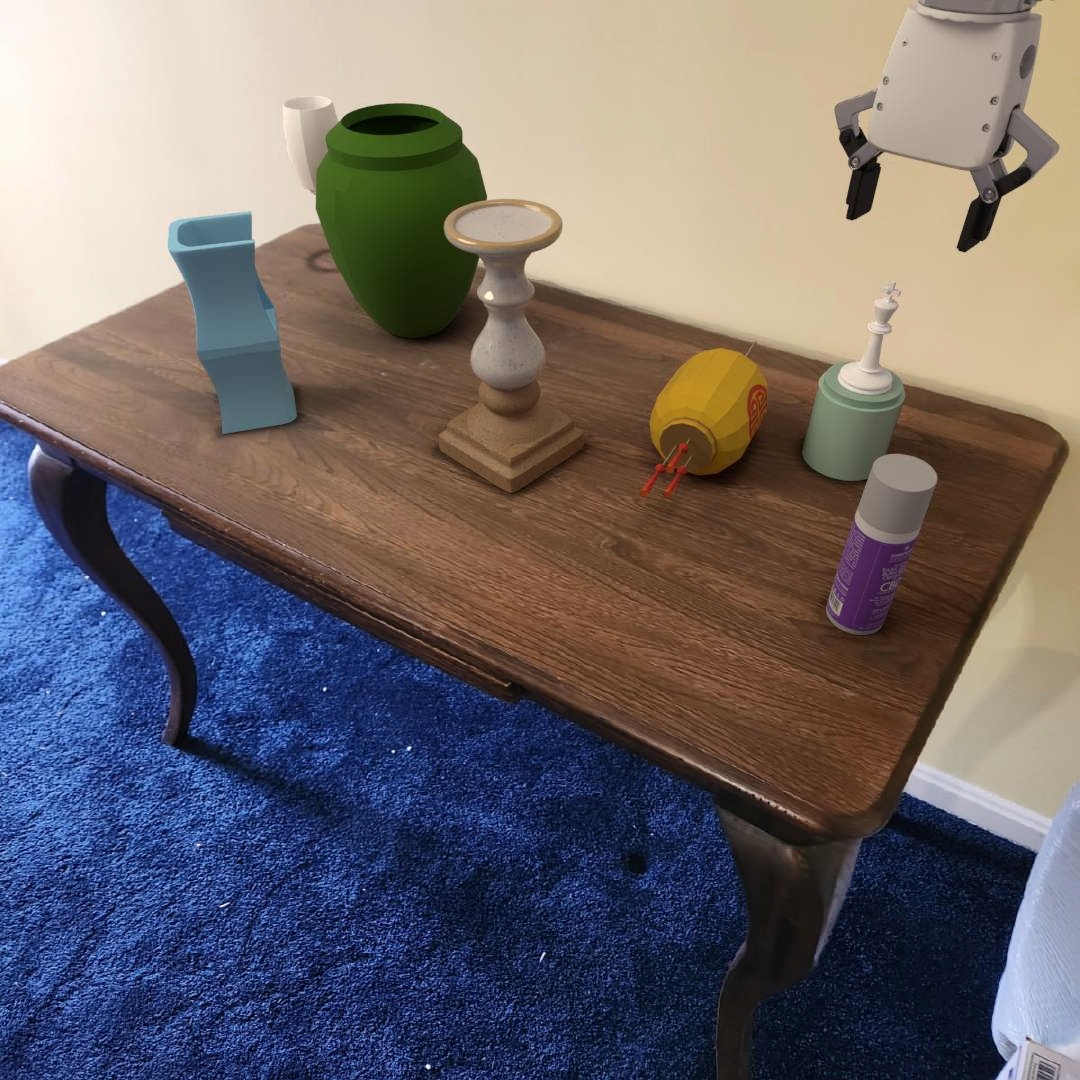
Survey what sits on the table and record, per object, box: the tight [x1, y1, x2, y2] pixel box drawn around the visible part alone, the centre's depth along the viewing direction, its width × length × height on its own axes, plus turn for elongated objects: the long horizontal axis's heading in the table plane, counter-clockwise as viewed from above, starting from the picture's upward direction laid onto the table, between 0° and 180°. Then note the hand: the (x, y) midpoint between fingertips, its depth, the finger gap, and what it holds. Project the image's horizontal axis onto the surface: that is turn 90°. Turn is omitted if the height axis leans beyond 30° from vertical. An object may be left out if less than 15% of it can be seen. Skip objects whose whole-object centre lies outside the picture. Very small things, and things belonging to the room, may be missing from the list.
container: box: [825, 453, 938, 636], centre depth 67 cm, size 5×5×15 cm
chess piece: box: [838, 280, 902, 395], centre depth 78 cm, size 5×5×10 cm
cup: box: [282, 95, 339, 196], centre depth 116 cm, size 7×7×21 cm
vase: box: [315, 102, 488, 339], centre depth 101 cm, size 20×20×24 cm
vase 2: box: [167, 210, 298, 435], centre depth 88 cm, size 8×8×20 cm
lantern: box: [639, 340, 769, 499], centre depth 85 cm, size 10×10×30 cm
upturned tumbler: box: [801, 360, 906, 482], centre depth 85 cm, size 8×8×9 cm
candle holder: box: [438, 198, 585, 494], centre depth 81 cm, size 11×11×24 cm
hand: (911, 230), depth 71 cm, fingers open, 9 cm apart
